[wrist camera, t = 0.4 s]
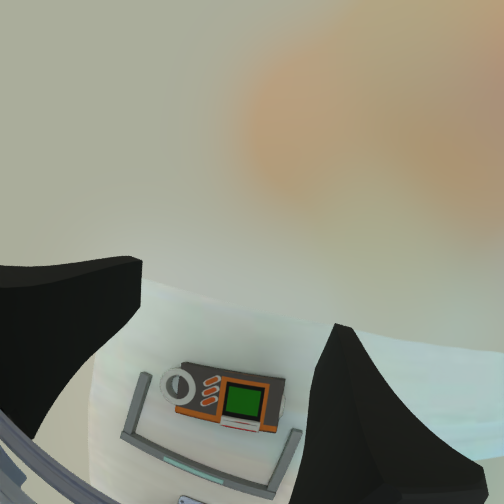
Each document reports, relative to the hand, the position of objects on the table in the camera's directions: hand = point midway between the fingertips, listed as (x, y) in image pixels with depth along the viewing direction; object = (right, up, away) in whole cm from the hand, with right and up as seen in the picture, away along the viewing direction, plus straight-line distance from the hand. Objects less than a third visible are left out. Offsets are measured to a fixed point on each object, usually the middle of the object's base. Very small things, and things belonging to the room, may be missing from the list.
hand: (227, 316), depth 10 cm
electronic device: (-3, -15, +23) cm, 28 cm away
